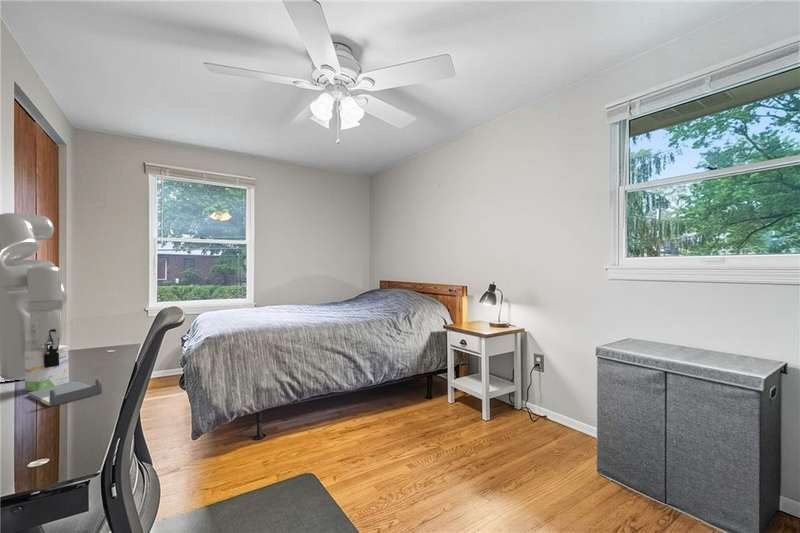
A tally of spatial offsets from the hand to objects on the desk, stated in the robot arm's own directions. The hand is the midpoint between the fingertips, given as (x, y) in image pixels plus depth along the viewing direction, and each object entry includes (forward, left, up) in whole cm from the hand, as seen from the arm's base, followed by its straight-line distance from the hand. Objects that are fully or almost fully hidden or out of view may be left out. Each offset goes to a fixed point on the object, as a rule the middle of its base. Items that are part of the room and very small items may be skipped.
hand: (47, 364), depth 109 cm
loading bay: (+14, 0, -7) cm, 16 cm away
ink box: (0, 0, -7) cm, 7 cm away
